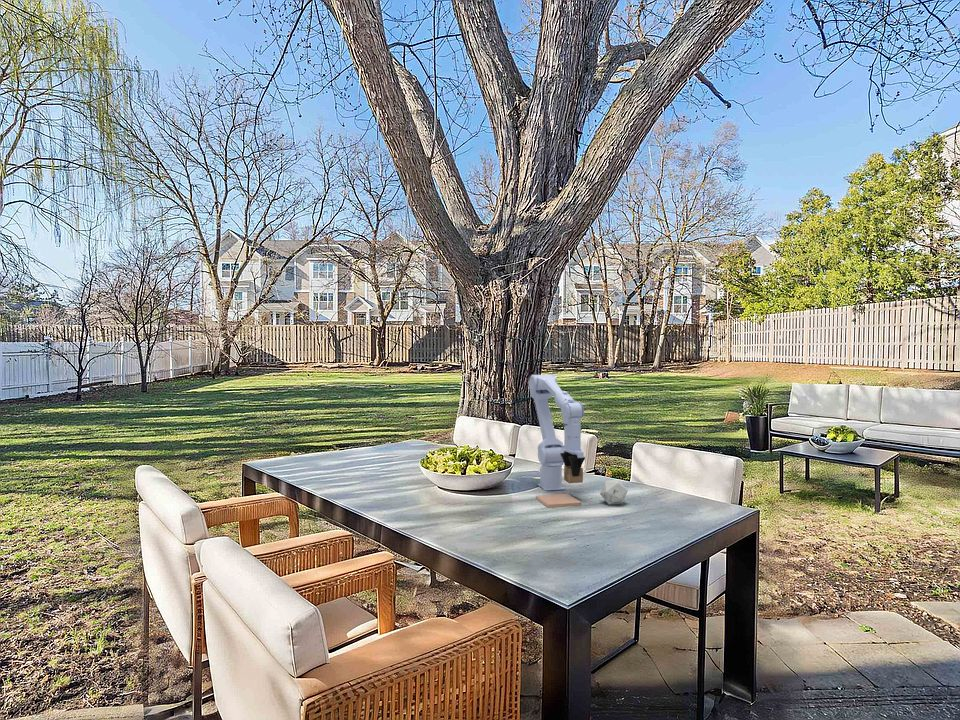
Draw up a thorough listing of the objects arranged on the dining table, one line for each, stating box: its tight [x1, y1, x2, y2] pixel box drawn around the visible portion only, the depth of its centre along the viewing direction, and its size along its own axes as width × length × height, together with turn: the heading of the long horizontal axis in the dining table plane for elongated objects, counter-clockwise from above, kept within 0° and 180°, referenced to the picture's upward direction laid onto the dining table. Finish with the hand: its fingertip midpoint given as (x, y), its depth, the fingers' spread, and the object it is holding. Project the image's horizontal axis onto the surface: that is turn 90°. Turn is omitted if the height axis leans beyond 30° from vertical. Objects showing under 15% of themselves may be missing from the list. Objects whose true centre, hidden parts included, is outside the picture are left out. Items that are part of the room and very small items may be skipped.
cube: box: [563, 465, 584, 484], centre depth 206 cm, size 5×5×5 cm
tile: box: [535, 493, 582, 509], centre depth 201 cm, size 12×12×1 cm
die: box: [599, 479, 628, 506], centre depth 200 cm, size 8×9×10 cm
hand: (572, 474), depth 206 cm, fingers closed on cube, 5 cm apart
